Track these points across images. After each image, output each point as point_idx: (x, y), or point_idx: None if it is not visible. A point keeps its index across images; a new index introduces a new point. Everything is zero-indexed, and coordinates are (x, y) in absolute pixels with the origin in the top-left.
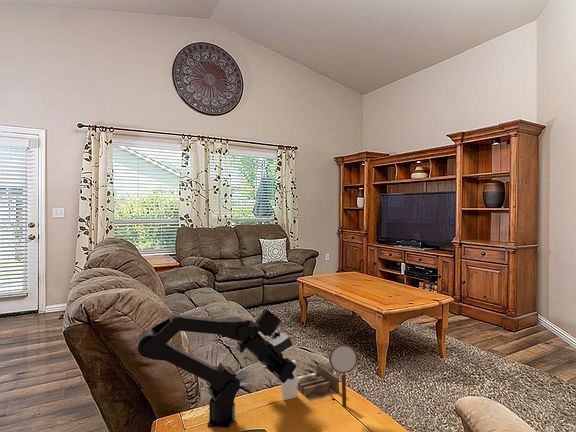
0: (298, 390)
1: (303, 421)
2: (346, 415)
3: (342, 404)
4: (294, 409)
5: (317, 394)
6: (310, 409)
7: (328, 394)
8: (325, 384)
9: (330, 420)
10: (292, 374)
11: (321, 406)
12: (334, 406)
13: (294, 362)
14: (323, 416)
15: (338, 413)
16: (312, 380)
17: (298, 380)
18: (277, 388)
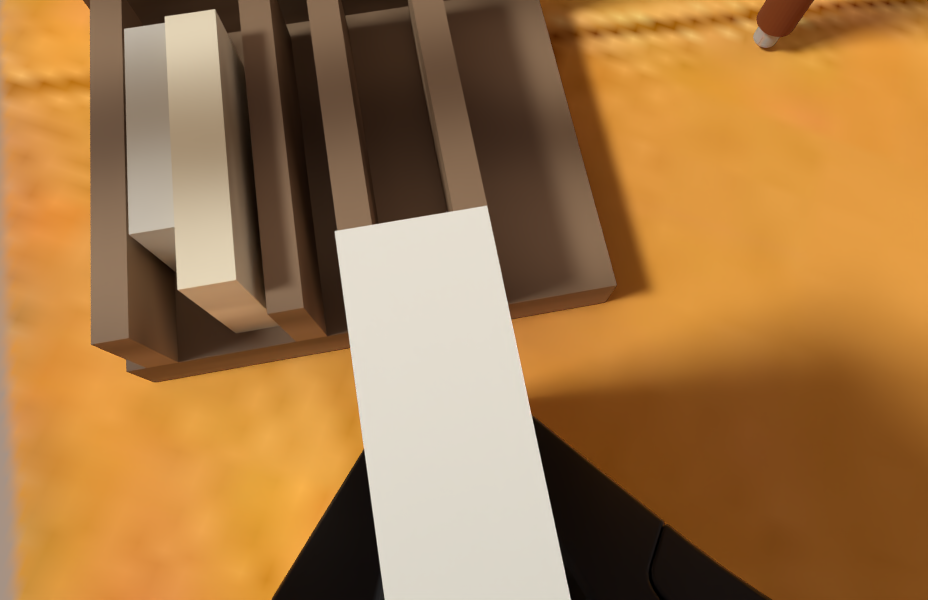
0: (322, 337)
1: (896, 471)
2: (837, 56)
3: (794, 14)
4: (633, 495)
5: (492, 162)
6: (672, 322)
7: (526, 61)
8: (443, 7)
9: (904, 210)
10: (567, 449)
11: (638, 200)
12: (666, 91)
13: (493, 283)
14: (826, 245)
15: (794, 104)
16: (284, 108)
17: (247, 288)
18: (50, 565)
